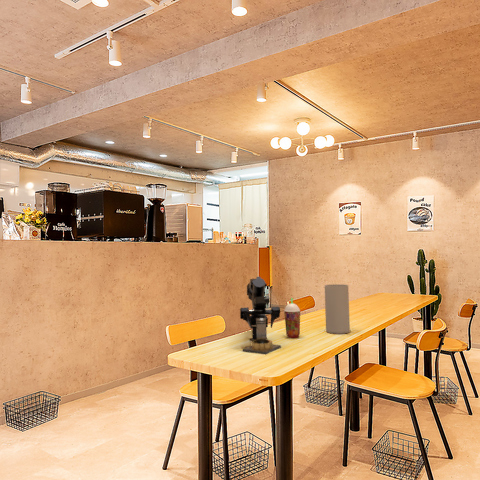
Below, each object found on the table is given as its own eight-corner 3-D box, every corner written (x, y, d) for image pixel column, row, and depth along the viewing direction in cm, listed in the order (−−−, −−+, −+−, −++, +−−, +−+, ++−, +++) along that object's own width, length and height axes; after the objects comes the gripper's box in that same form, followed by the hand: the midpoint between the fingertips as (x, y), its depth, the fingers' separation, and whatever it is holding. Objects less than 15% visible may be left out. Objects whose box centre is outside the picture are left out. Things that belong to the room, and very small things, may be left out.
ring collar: (258, 344, 195) (258, 337, 195) (280, 347, 188) (280, 339, 188) (242, 351, 183) (242, 343, 183) (265, 354, 176) (265, 346, 177)
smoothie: (283, 338, 208) (282, 298, 208) (287, 334, 216) (285, 297, 216) (299, 339, 205) (298, 299, 205) (302, 335, 213) (301, 297, 213)
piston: (264, 345, 189) (264, 317, 189) (268, 347, 184) (267, 318, 185) (255, 346, 187) (254, 317, 188) (259, 348, 183) (258, 319, 183)
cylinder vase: (325, 329, 227) (324, 284, 228) (348, 329, 225) (347, 284, 225) (326, 334, 215) (324, 286, 216) (350, 334, 213) (349, 286, 213)
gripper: (239, 290, 192) (241, 318, 180) (279, 289, 192) (283, 316, 181) (239, 305, 199) (241, 332, 188) (277, 303, 200) (281, 330, 189)
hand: (261, 327), depth 186 cm, fingers open, 9 cm apart
